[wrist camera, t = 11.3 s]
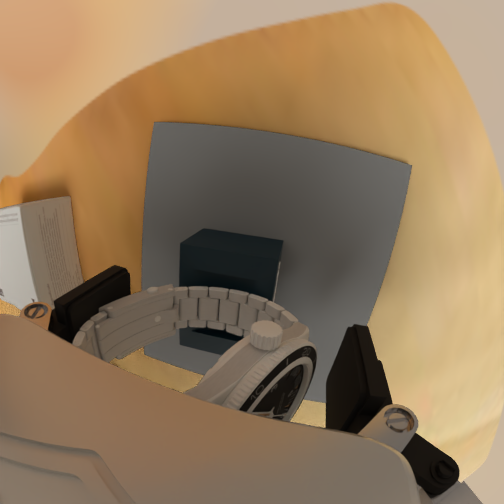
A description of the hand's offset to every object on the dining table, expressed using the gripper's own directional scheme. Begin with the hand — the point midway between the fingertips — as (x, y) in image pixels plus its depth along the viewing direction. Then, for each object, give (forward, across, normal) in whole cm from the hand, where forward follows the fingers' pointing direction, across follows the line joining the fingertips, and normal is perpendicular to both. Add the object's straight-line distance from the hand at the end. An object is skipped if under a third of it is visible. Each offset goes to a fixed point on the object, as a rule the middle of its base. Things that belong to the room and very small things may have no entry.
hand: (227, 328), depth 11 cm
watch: (+5, +1, 0) cm, 5 cm away
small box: (+6, +17, +2) cm, 18 cm away
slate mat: (+6, 0, 0) cm, 6 cm away
